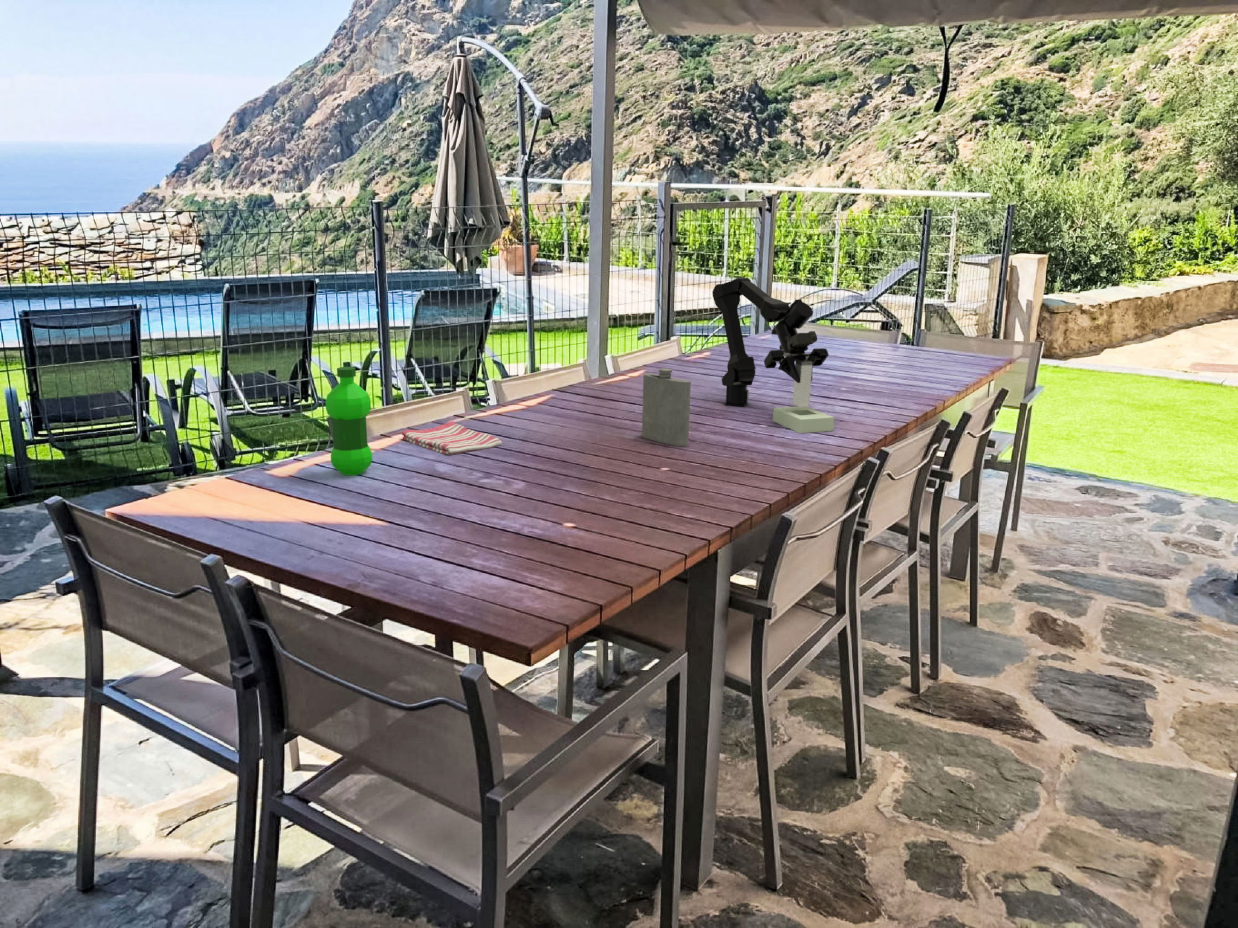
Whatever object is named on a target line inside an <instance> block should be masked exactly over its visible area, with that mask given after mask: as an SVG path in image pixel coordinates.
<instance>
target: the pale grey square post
mask: <svg viewBox="0 0 1238 928" xmlns="http://www.w3.org/2000/svg"><path fill="white" fill-rule="evenodd" d="M795 366H796V369H797V372H798V374H799V377H800V382H799V383H797V382H796V381H795V380H794V379H793V381H794V382H793V393H792V395H793V397H792V404H793V406H795V407H796V406H807V407H810V399H811V387H812V381H811V376H812V377H813V370H812V361H809V360H796V361H795Z"/></svg>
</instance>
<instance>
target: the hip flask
mask: <svg viewBox="0 0 1238 928" xmlns="http://www.w3.org/2000/svg"><path fill="white" fill-rule="evenodd" d="M672 373H673V369H672V368H666V367H663V368H658V373H650V372H649V373H647V372H646V373H644V374H643V382H642V383H643V387H642V388H643V389H642V419H641V420H642V423H641V424H642V426H641V437H642V438H645V439H648V440H651V441H654V442H658V443H662V444H667V445H672V446H677V447H688V446H689V442H690V441H689V438H690V435H689V434H690V416H691V415H690V413H691V412H690V411H691V410H690V409H691V406H690V405H691V387H692V386H691V383H692V382H691V380H688V379H681V378H675V377H672Z"/></svg>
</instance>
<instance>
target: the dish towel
mask: <svg viewBox="0 0 1238 928" xmlns="http://www.w3.org/2000/svg"><path fill="white" fill-rule="evenodd" d="M401 435H402V436H403V437H402V440H403V441H407V442H409V443H410V444H411V443H412V444H414V445H418V446H419V447H423V448H424V449H428V450H431V451H434V452H436V453H440V454H444V455H447V456H449V455H450V456H452V455H459V454H463V453H469V452H474V451H480V450H485V449H491V448H494V447H498V446H499V447H501V446H502V444H503V442H502V440H501V439H500V438H498V437H495V436H493V435H492V434H489V433H486V432H479V431H475V430H472V429H468V428H466V427H465V426H464V425H461V424H459V423H456V422H455V420H451V421H448V422H446V423H444V424H441V425H438V426H436V427H433V428H426V429H421V430H416V429H404V430H403V431H402V432H401Z"/></svg>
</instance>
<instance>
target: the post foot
mask: <svg viewBox="0 0 1238 928" xmlns="http://www.w3.org/2000/svg"><path fill="white" fill-rule="evenodd" d="M772 421H773V422H774V423H776V424H779V425H781V426H782V427H785V428H787V429H789V428H790V430H792V431H793V432H794V431H795V432H796V433H799V434H809V433H823V432H834V430H835V428H834V427H835V416H832V415H829V414H827V413H824V412H823V411H819V410H817V409H815V408H812V407H810V406H796V405H795V406H784V407H774V408H773V412H772Z"/></svg>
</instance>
